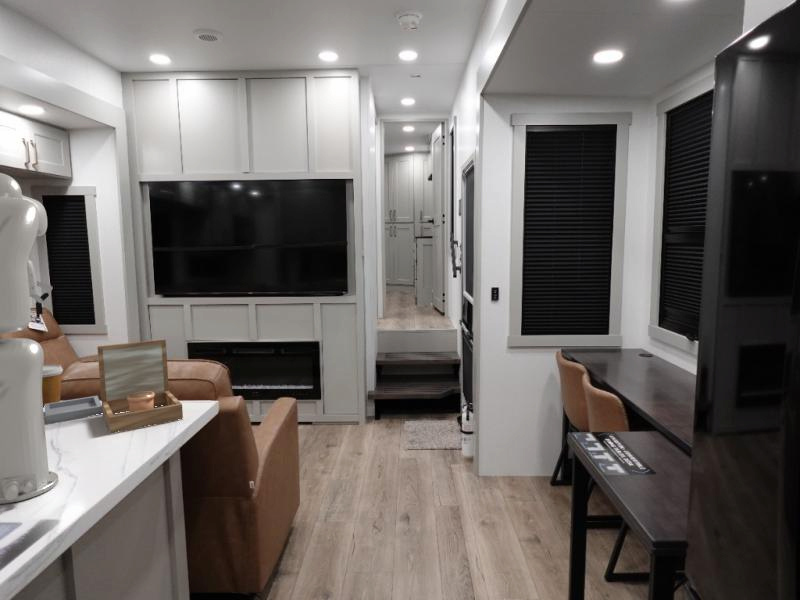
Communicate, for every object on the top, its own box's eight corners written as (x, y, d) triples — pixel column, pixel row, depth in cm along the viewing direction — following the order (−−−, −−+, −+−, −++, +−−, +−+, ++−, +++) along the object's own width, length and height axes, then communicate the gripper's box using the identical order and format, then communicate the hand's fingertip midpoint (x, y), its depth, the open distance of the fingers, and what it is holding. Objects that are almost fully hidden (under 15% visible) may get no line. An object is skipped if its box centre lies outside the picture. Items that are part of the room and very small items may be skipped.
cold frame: (183, 419, 145) (178, 348, 143) (110, 433, 134) (104, 356, 132) (168, 403, 160) (164, 339, 158) (102, 415, 149) (97, 346, 147)
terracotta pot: (158, 418, 146) (156, 395, 146) (130, 423, 142) (128, 399, 141) (153, 412, 152) (151, 389, 151) (126, 417, 148) (125, 394, 147)
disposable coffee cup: (73, 400, 165) (70, 365, 163) (45, 409, 156) (42, 372, 154) (50, 398, 167) (47, 363, 166) (22, 407, 158) (19, 370, 157)
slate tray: (102, 414, 151) (102, 406, 150) (46, 424, 142) (45, 415, 142) (97, 403, 162) (97, 395, 162) (45, 411, 154) (44, 403, 153)
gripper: (-33, 256, 126) (-26, 323, 128) (50, 255, 137) (55, 317, 139) (-30, 256, 132) (-24, 320, 134) (49, 255, 143) (54, 314, 145)
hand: (16, 318), depth 136 cm, fingers open, 9 cm apart
